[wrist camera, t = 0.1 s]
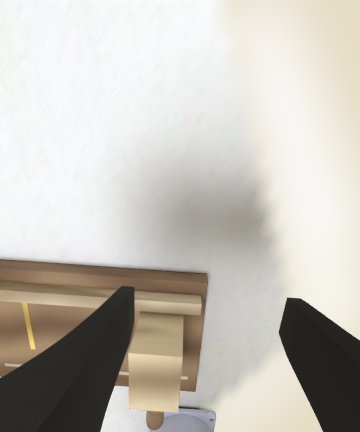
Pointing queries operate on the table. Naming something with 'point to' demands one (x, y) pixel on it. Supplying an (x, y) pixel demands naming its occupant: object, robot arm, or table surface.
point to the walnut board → (91, 307)
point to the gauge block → (156, 365)
